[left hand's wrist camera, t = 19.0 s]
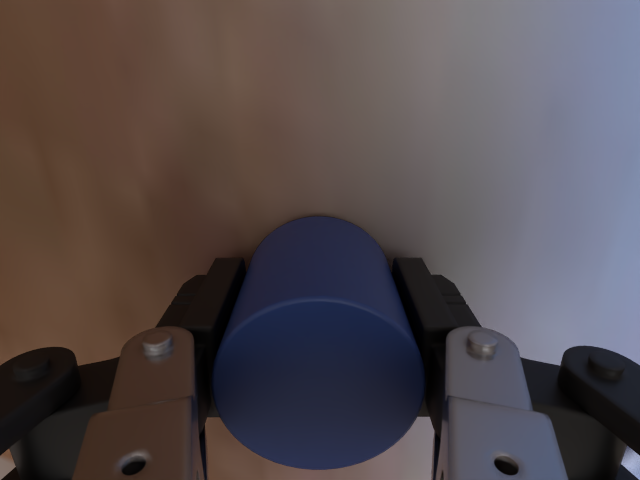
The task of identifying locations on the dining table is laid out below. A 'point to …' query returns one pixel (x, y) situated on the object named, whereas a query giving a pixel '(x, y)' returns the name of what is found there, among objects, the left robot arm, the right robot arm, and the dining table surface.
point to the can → (318, 350)
